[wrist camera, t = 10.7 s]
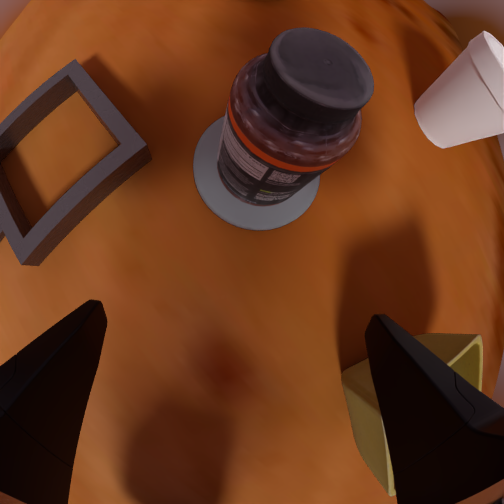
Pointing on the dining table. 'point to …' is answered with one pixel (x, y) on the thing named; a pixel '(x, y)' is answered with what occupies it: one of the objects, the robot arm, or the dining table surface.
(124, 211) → the dining table surface
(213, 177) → the coaster
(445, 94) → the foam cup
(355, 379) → the flower pot
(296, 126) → the supplement bottle
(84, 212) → the square pan with handle
